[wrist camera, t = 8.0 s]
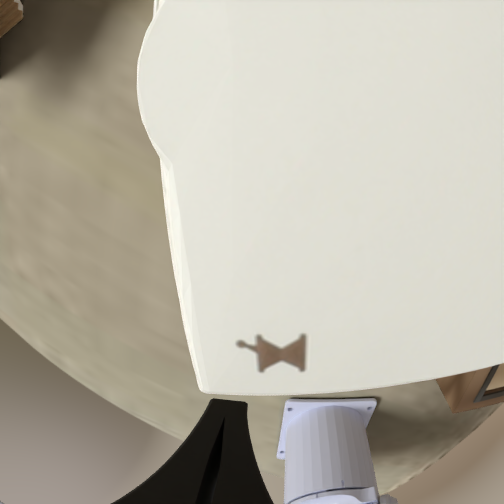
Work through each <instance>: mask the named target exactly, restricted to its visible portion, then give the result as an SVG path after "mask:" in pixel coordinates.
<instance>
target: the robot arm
mask: <svg viewBox="0 0 504 504" xmlns="http://www.w3.org/2000/svg"><path fill="white" fill-rule="evenodd" d="M376 404H377V401H376V399H375V398H364V399H289V400H287V401H286V402H285V408H284V414H283V420H282V427H281V433H280V439H279V445H278V451H277V458H278V459H285V488H284V504H398V502H397V499H396V498H394V497H392V496H390V495H389V494H385V495H382V496H381V497H380V495H379V493H378V488H377V483H376V477H375V472H374V467H373V462H372V457H371V452H370V448H369V443H368V438H367V434H366V428H367V425H368V423H369V421H370V419H371V416H372V414H373V412H374V409H375V407H376ZM247 407H248V404H247V403H246V402H242V401H232V400H223V399H214V398H213V399H211V400H210V402H209V404H208V406H207V408H206V410H205V412H204V414H203V415H202V417H201V418H200V420H199V422H198V423H197V425H196V426H195V427H194V429H193V430H192V432H191V433H190V434H189V436H188V437H187V438H186V440H185V441H184V442H183V443H182V445H181V446H180V447H179V448H178V449H177V451H176V452H175V453H174V454H173V455H172V456H171V457H170V458H169V459H168V460H167V462H166V463H165V464H164V465H163V466H162V467H161V468H159V470H157V471H156V472H155V473H154V474H153V475H152V476H150V477H149V478H148V479H147V480H146V481H145V482H143V483H142V484H141V485H139V486H138V487H136V488H135V489H134V490H132V491H131V492H129V493H128V494H126V495H125V496H123V497H122V498H120V499H119V500H117V501H115V502H113V503H111V504H274V503H273V501H272V500H271V498H270V495H269V493H268V491H267V489H266V487H265V484H264V482H263V479H262V477H261V474H260V471H259V468H258V465H257V462H256V459H255V456H254V452H253V448H252V444H251V439H250V435H249V429H248V420H247ZM0 504H3V503H2V502H1V501H0Z"/></svg>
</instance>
